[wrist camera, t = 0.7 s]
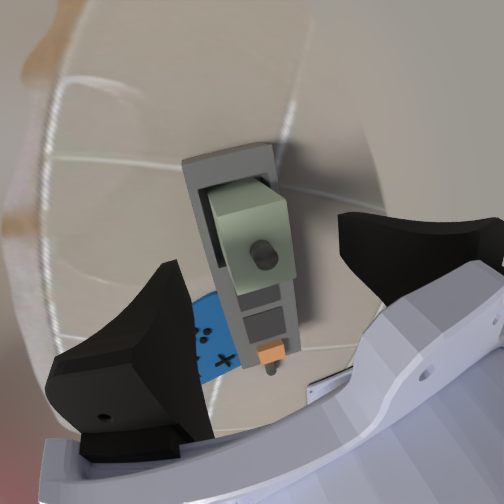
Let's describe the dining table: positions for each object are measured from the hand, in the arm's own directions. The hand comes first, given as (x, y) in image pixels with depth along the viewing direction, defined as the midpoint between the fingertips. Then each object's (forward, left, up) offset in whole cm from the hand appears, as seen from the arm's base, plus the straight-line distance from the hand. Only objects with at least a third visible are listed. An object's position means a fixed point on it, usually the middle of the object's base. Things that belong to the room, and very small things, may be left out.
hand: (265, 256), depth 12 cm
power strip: (-7, 0, -8) cm, 10 cm away
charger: (0, 0, -7) cm, 7 cm away
